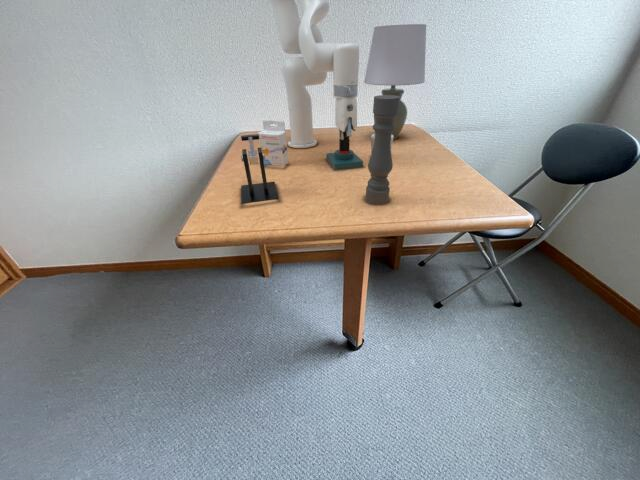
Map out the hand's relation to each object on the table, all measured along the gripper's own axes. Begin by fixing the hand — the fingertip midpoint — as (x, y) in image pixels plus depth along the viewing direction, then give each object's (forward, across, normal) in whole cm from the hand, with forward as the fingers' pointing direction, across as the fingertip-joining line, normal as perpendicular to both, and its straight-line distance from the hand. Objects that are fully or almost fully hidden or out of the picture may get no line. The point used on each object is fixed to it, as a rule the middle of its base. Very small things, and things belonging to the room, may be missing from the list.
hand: (344, 150), depth 96 cm
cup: (+5, 0, -14) cm, 15 cm away
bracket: (+5, -18, +31) cm, 36 cm away
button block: (+5, 0, 0) cm, 5 cm away
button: (+2, 0, 0) cm, 2 cm away
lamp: (+5, +26, -29) cm, 39 cm away
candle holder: (+5, -30, 0) cm, 30 cm away
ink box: (+5, +5, +24) cm, 25 cm away
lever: (-7, -13, +31) cm, 34 cm away
